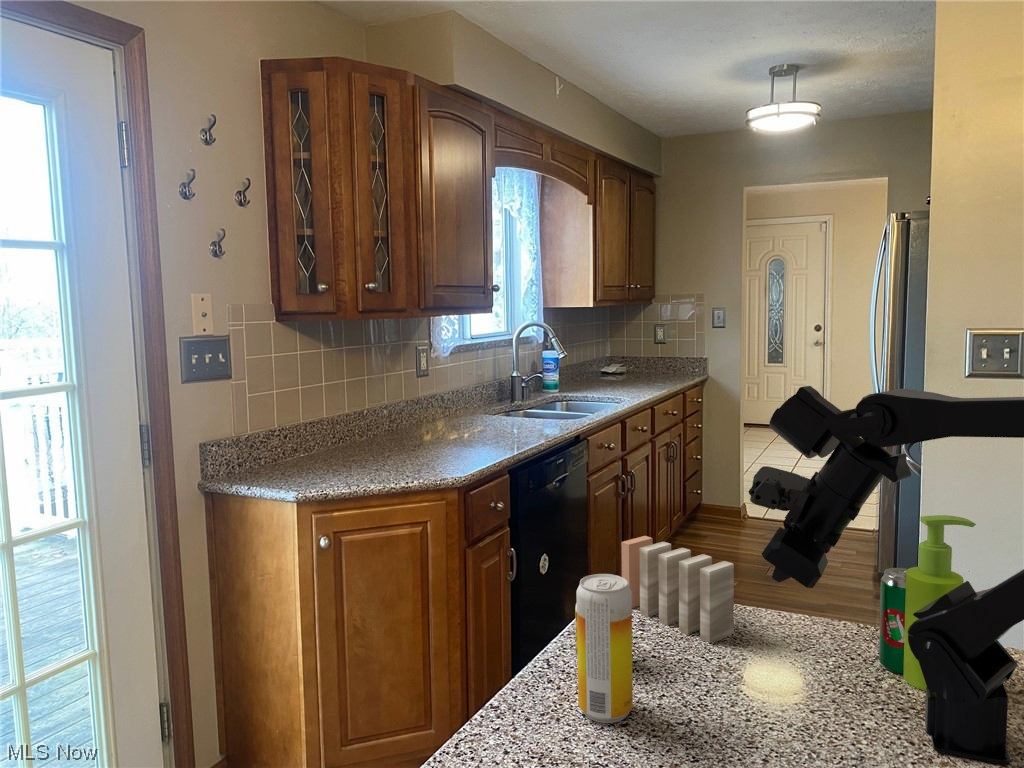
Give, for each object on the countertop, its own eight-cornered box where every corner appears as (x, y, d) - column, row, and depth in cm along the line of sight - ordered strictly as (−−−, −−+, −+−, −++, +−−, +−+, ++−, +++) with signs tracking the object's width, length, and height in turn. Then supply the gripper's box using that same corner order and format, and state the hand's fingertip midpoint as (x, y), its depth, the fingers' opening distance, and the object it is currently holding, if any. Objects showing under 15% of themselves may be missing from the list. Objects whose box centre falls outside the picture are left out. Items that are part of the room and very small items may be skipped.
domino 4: (711, 625, 106) (711, 556, 105) (687, 634, 104) (687, 564, 103) (702, 621, 108) (702, 553, 107) (679, 630, 105) (678, 561, 104)
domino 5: (733, 634, 103) (733, 563, 102) (709, 644, 100) (709, 571, 100) (724, 630, 105) (724, 560, 104) (700, 640, 102) (700, 568, 101)
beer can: (635, 700, 86) (634, 574, 85) (629, 728, 81) (627, 594, 79) (583, 694, 88) (581, 570, 87) (574, 721, 82) (571, 589, 81)
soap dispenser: (978, 695, 86) (985, 524, 84) (914, 692, 87) (919, 524, 85) (956, 671, 91) (961, 510, 89) (895, 668, 92) (899, 510, 90)
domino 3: (690, 616, 110) (690, 550, 109) (667, 625, 107) (666, 557, 106) (682, 613, 111) (682, 547, 110) (658, 621, 108) (658, 554, 107)
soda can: (908, 657, 95) (910, 565, 94) (934, 676, 90) (937, 579, 89) (870, 659, 95) (872, 567, 94) (894, 678, 90) (896, 582, 89)
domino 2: (671, 608, 113) (671, 544, 112) (647, 617, 110) (647, 550, 109) (663, 605, 114) (663, 541, 113) (640, 613, 111) (639, 548, 110)
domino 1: (653, 601, 116) (652, 538, 115) (629, 609, 113) (628, 544, 112) (645, 598, 117) (645, 535, 116) (622, 605, 114) (621, 542, 113)
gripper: (799, 421, 95) (741, 510, 103) (755, 474, 80) (692, 574, 88) (882, 470, 91) (816, 559, 99) (852, 536, 76) (777, 635, 84)
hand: (776, 578), depth 92 cm, fingers closed
